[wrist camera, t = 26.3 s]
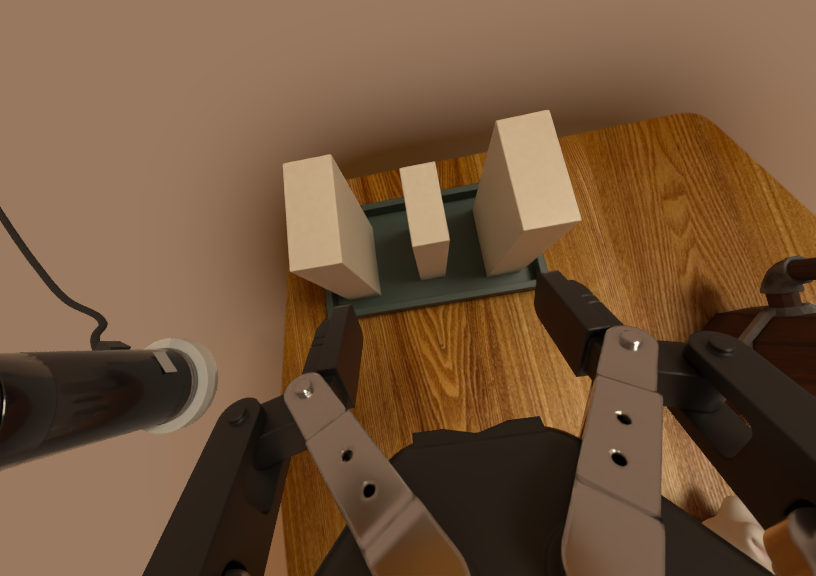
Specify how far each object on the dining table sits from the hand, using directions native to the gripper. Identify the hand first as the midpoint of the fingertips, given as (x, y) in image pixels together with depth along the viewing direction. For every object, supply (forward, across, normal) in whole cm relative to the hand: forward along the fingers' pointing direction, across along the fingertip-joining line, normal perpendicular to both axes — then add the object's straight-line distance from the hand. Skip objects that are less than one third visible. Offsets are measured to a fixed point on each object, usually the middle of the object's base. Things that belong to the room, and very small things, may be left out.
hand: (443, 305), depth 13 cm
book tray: (+23, 0, +9) cm, 25 cm away
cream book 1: (+22, +8, +9) cm, 25 cm away
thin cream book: (+22, 0, +9) cm, 24 cm away
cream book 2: (+22, -9, +9) cm, 26 cm away
